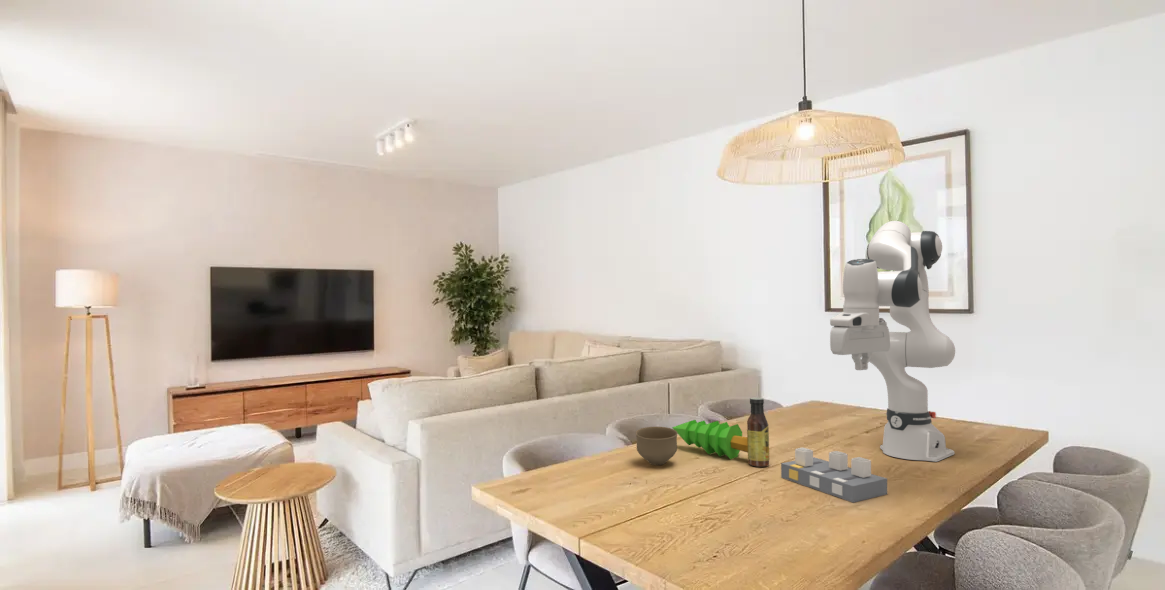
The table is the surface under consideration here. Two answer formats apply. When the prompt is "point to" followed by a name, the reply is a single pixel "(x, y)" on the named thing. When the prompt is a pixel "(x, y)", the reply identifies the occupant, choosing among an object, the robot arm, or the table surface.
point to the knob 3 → (861, 467)
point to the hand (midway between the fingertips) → (861, 369)
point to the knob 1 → (804, 457)
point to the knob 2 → (838, 460)
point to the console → (834, 480)
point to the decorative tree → (714, 437)
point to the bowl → (656, 444)
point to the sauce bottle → (758, 434)
